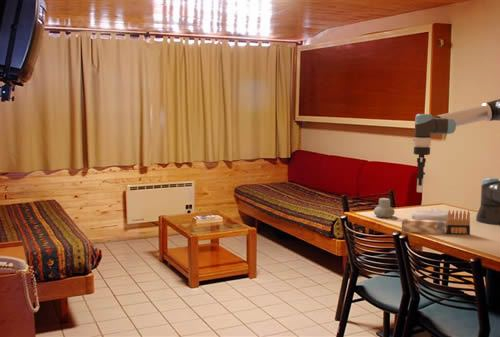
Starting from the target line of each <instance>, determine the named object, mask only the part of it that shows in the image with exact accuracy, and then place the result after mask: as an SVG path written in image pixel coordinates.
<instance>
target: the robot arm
mask: <svg viewBox="0 0 500 337" xmlns="http://www.w3.org/2000/svg"><path fill="white" fill-rule="evenodd" d="M482 121H484V122H492V121H500V98H498V99H495V100H491V101H487V102H483V103H482V104H481V105H478V106H475V107H470V108H466V109H465V108H464V109H459V110H455V111H452V112H447V113H443V114H437V115H434V116H433V115H432V114H430V113H417V114H416V115H415V120H414V138H413V139H412V141H413V142H414V144H413V145H414V146H413V154H414V155H418V157H417V158H416V163H417V165H416V166H417V175H416V176H415V179H416V180H417V181H416V193H424V192H423V191H424V177H425V175H426V172H425V171H424V168H425V166H426V162H427V161H426V160H427V158H426V157H425V156H429V155H430V154H431V145H432V140H431V138H432V135H449V134H450V135H451V134H454V133H455V132H456V129H457V127H460V126H463V125H469V124H473V123H478V122H482ZM480 187H481V189H480V190H481V191H480V206H479V208H478V210H477V214H476V216H475V217H476V218H475V221H476V222H478V223H482V224H488V225H500V177H499V178H498V177H496V178H495V177H492V178H491V177H490V178H487V177H486V178H483V179H482V181H481V186H480Z"/></svg>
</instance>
